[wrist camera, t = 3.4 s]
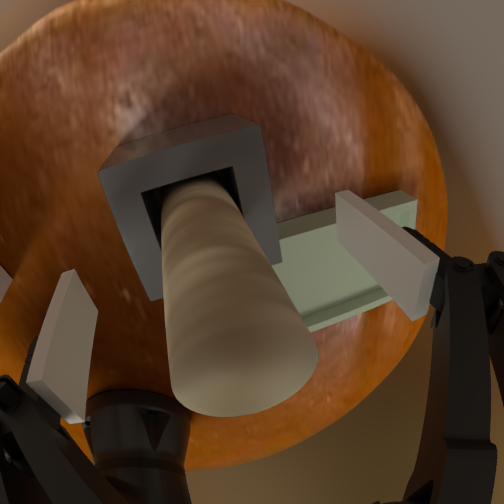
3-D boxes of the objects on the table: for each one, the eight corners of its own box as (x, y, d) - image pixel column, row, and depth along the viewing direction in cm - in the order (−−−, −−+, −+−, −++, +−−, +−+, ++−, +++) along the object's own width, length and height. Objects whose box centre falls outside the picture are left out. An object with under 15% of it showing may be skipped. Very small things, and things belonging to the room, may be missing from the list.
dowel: (170, 221, 24) (198, 428, 9) (154, 168, 21) (145, 352, 7) (225, 205, 24) (319, 390, 10) (213, 151, 22) (316, 300, 8)
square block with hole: (151, 248, 25) (150, 301, 20) (115, 147, 20) (97, 171, 15) (254, 218, 27) (282, 262, 21) (233, 113, 22) (260, 125, 16)
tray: (252, 332, 33) (259, 350, 31) (228, 237, 27) (235, 252, 24) (393, 281, 36) (405, 293, 33) (400, 189, 29) (417, 199, 27)
